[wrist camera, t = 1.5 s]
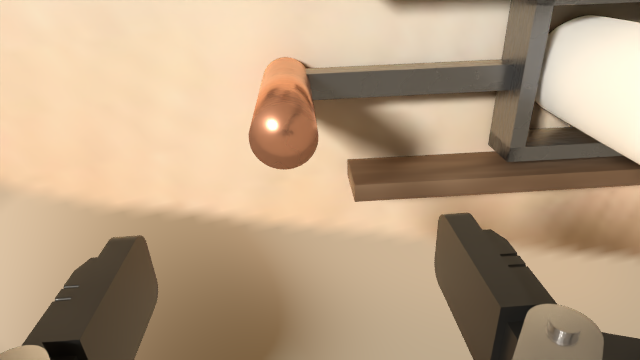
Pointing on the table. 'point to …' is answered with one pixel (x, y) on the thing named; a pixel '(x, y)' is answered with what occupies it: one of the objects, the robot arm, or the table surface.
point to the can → (595, 80)
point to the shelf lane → (482, 175)
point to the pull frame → (425, 78)
